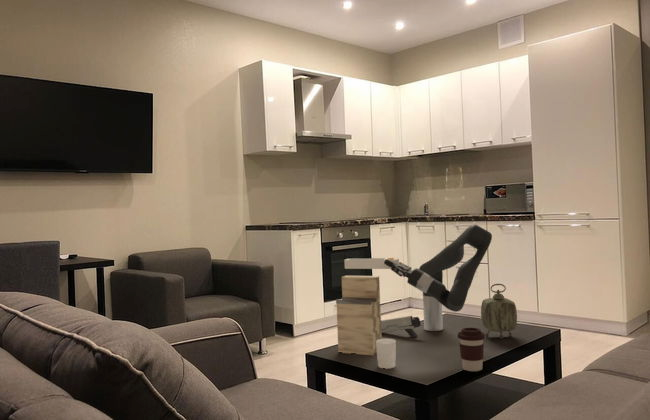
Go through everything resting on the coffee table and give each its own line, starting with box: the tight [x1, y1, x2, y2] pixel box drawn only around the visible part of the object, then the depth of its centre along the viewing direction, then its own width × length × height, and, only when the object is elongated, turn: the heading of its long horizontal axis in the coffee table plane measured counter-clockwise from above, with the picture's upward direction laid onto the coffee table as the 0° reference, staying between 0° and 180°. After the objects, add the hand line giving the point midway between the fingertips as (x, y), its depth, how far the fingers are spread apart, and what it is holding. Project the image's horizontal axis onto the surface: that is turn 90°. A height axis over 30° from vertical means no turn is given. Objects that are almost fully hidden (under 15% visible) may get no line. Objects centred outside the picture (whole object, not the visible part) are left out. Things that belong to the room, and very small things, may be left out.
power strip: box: [343, 257, 400, 270], centre depth 234 cm, size 4×24×4 cm, turn 66°
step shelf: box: [335, 275, 383, 356], centre depth 233 cm, size 12×16×32 cm
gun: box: [381, 315, 422, 338], centre depth 258 cm, size 2×25×10 cm, turn 53°
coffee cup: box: [457, 327, 486, 372], centre depth 201 cm, size 10×10×15 cm
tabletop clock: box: [480, 283, 518, 340], centre depth 246 cm, size 14×9×25 cm, turn 88°
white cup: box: [376, 338, 397, 370], centre depth 209 cm, size 8×8×10 cm
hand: (386, 260), depth 231 cm, fingers closed on power strip, 4 cm apart
